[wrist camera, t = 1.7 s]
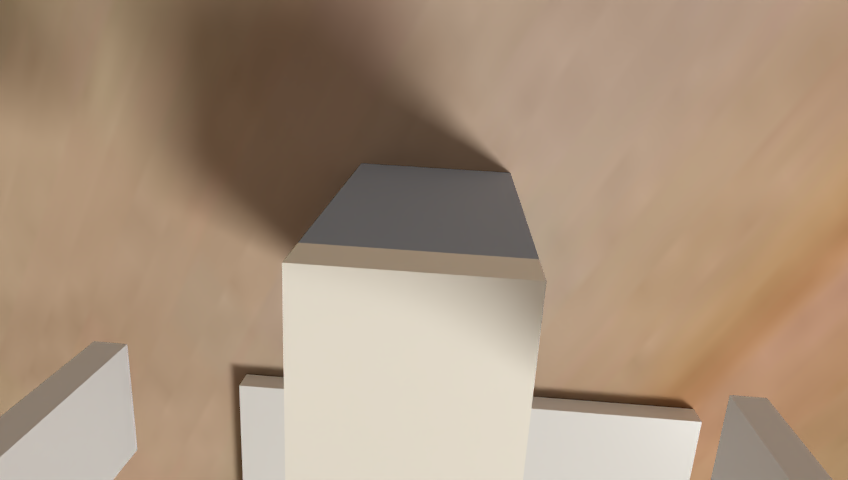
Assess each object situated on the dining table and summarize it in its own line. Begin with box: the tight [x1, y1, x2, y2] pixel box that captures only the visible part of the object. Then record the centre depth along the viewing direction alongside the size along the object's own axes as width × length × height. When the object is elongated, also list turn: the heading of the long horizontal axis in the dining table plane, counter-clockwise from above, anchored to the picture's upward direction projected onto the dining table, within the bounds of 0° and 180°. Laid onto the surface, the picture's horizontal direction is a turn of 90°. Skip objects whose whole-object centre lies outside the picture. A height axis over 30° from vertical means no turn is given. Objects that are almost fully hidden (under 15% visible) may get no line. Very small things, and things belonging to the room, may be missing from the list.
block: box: [282, 163, 546, 480], centre depth 21 cm, size 6×6×12 cm
